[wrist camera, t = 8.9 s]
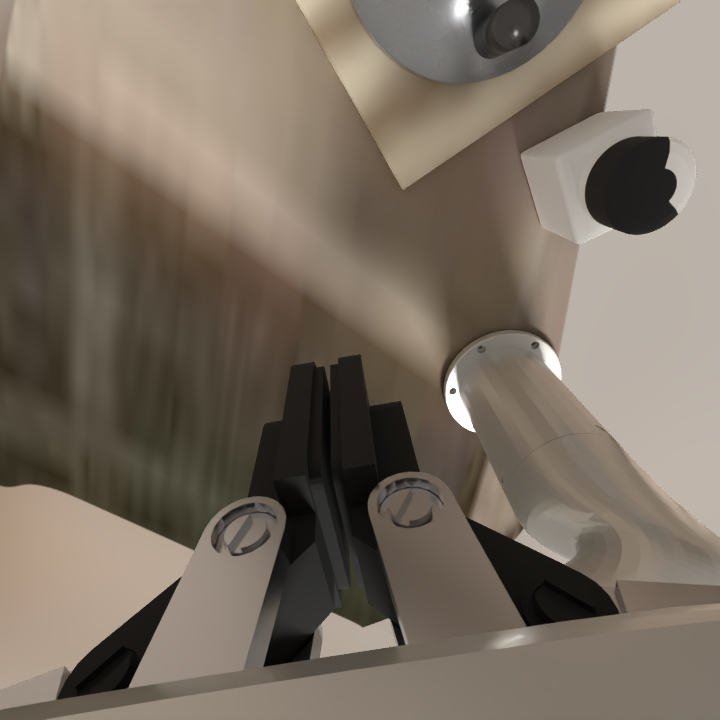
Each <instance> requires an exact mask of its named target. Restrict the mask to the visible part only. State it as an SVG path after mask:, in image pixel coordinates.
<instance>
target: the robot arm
mask: <svg viewBox="0 0 720 720" xmlns="http://www.w3.org/2000/svg"><path fill="white" fill-rule="evenodd" d="M479 346H481V347H479ZM444 398H445V402H446V405H447V407H448V410H449V412H450V413H451V415H452V416H453V418H454V419H455V420H456V421H457V422H458V423H459V424H460V425H461V426H463V427H465V428H466V429H468V430H470V431H473V432H476V434H477V436H478V438H479V440H480V442H481V445H482V447H483V449H484V451H485V453H486V455H487V457H488V459H489V461H490V463H491V465H492V467H493V469H494V472H495V474H496V476H497V478H498V480H499V482H500V484H501V486H502V488H503V490H504V492H505V494H506V496H507V498H508V501H509V503H510V505H511V507H512V509H513V511H514V513H515V515H516V517H517V519H518V521H519V522H520V524H521V525H522V527H523V528H524V529H525V530H526V532H527V533H528V534H529V535H530V536H531V537H533V538H534V539H535V540H536V541H537V542H539V543H540V544H541V545H543V546H544V547H546V548H548V549H549V550H551V551H553V552H555V553H557V554H559V555H561V556H563V557H565V558H567V559H570V561H569V562H567V563H566V564H562V563H560V562H558V561H556V560H554V559H552V558H549V557H547V556H545V555H543V554H541V553H539V552H537V551H535V550H533V549H531V548H529V547H527V546H525V545H523V544H521V543H519V542H516V541H514V540H512V539H510V538H508V537H506V536H504V535H502V534H500V533H498V532H496V531H494V530H492V529H490V528H488V527H485V526H483V525H481V524H479V523H477V522H475V521H473V520H471V519H469V518H467V517H465V516H464V514H463V512H462V511H461V509H460V507H459V505H458V503H457V502H456V500H455V498H454V496H453V495H452V493H451V491H450V489H449V488H448V487H447V486H446V485H445V483H444V482H443V481H441V480H439V479H438V478H436V477H435V476H432V475H429V474H426V473H423V472H420V471H419V467H418V464H417V460H416V456H415V452H414V448H413V445H412V441H411V437H410V433H409V429H408V426H407V422H406V418H405V414H404V410H403V407H402V403H401V401H398V402H392V403H386V404H380V405H373V406H369V401H368V395H367V389H366V383H365V378H364V372H363V366H362V360H361V355H360V354H359V355H353V356H347V357H341V358H338V364H335V365H330V390H329V386H328V381H327V377H326V372H325V368H324V366H323V367H317V368H316V365H315V363H314V362H311V363H305V364H299V365H293V366H291V370H290V376H289V383H288V389H287V395H286V401H285V407H284V414H283V420H282V421H276V422H270V423H266V424H265V425H264V427H263V431H262V436H261V440H260V445H259V449H258V454H257V458H256V463H255V467H254V472H253V476H252V481H251V485H250V490H249V494H248V498H244V499H242V500H239V501H236V502H234V503H232V504H230V505H228V506H227V507H225V508H224V509H222V510H221V511H220V512H219V513H218V514H216V515H215V516H214V517H213V518H212V519H211V521H210V522H209V524H208V525H207V527H206V528H205V530H204V532H203V534H202V536H201V538H200V540H199V542H198V544H197V547H196V549H195V551H194V553H193V555H192V557H191V559H190V561H189V563H188V565H187V568H186V570H185V571H184V573H183V576H182V577H180V578H179V579H178V580H177V581H175V582H174V583H173V584H172V585H171V586H169V587H168V588H167V589H166V590H164V591H163V592H162V593H161V594H160V595H158V596H157V597H156V598H155V599H153V600H152V601H151V602H150V603H149V604H147V605H146V606H145V607H144V608H143V609H141V610H140V611H139V612H138V613H137V614H135V615H134V616H133V617H131V618H130V619H129V620H128V621H127V622H125V623H124V624H123V625H122V626H121V627H120V628H118V629H117V630H116V631H115V632H113V633H112V634H111V635H110V636H108V637H107V638H106V639H105V640H103V641H102V642H101V643H100V644H99V645H97V646H96V647H95V648H94V649H93V650H91V651H90V652H89V653H88V654H87V655H86V656H85V657H84V658H83V659H82V660H81V661H80V662H79V663H78V664H77V666H76V667H75V668H74V670H73V671H71V672H69V671H68V670H67V668H66V667H65V666H63V667H61V668H58V669H56V670H53V671H50V672H48V673H45V674H42V675H40V676H37V677H34V678H32V679H29V680H26V681H24V682H21V683H18V684H16V685H13V686H10V687H8V688H5V689H2V690H0V720H720V537H718V536H717V535H715V534H714V533H713V532H712V531H711V530H709V529H708V528H707V527H706V526H705V525H703V524H702V523H701V522H699V521H698V520H697V519H696V518H695V517H693V516H692V515H691V514H690V513H688V512H687V511H686V510H685V509H684V508H683V507H682V506H680V505H679V504H678V503H677V502H676V501H675V500H673V499H672V498H671V497H670V496H669V495H668V494H667V493H666V492H665V491H664V490H663V489H662V488H661V487H660V486H659V485H658V484H657V483H656V482H655V481H654V480H653V479H652V478H651V477H649V475H648V474H647V473H646V472H645V471H644V470H643V469H642V468H641V467H640V466H639V465H638V464H637V463H636V462H635V461H634V460H633V459H632V458H631V456H630V455H629V454H628V453H627V452H626V451H625V450H624V449H623V448H622V447H621V446H620V444H619V443H618V442H617V441H616V440H615V439H614V438H613V437H612V436H611V435H610V434H609V433H608V431H607V430H606V429H605V428H604V427H603V426H602V425H601V424H600V423H599V422H598V421H597V420H596V418H595V417H594V416H593V415H592V414H591V413H590V412H589V411H588V410H587V409H586V407H585V406H584V405H583V404H582V403H581V402H580V401H579V400H578V399H577V398H576V397H575V396H574V395H573V393H572V392H571V391H570V390H569V389H568V388H567V387H566V386H565V385H564V384H563V382H562V366H561V363H560V360H559V357H558V356H557V354H556V353H555V351H554V350H553V348H552V347H551V346H550V345H549V344H548V343H547V342H545V341H544V340H543V339H541V338H540V337H538V336H536V335H534V334H532V333H529V332H525V331H520V330H503V331H497V332H493V333H490V334H487V335H484V336H482V337H480V338H478V339H476V340H475V341H473V342H471V343H470V344H469V345H467V346H466V347H465V348H464V349H463V350H462V351H461V352H460V353H459V354H458V355H457V356H456V357H455V359H454V360H453V362H452V363H451V365H450V366H449V369H448V371H447V373H446V376H445V381H444ZM349 550H350V554H351V558H352V562H353V566H354V570H355V574H356V579H357V583H358V586H364V587H365V591H366V595H367V600H368V603H369V604H370V605H371V606H373V607H374V608H375V609H377V610H378V611H379V612H381V613H382V614H384V615H385V616H386V617H388V618H389V619H390V622H391V626H392V631H393V634H394V638H395V642H396V645H397V646H396V647H389V648H383V649H376V650H370V651H363V652H357V653H350V654H344V655H338V656H331V657H325V658H320V651H321V645H322V626H321V623H322V622H323V621H324V620H325V619H326V618H327V616H328V615H329V614H330V613H331V612H332V611H333V610H334V608H340V607H342V589H346V588H350V587H351V577H350V555H349Z"/></svg>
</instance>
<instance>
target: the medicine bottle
mask: <svg viewBox="0 0 720 720" xmlns="http://www.w3.org/2000/svg"><path fill="white" fill-rule="evenodd" d="M521 160H522V163H523V167H524V170H525V173H526V177H527V180H528V183H529V187H530V190H531V193H532V197H533V200H534V204H535V207H536V210H537V214H538V217H539V220H540V224H541V226H542V228H544V229H546V230H548V231H551V232H553V233H555V234H557V235H559V236H561V237H563V238H566V239H568V240H570V241H572V242H574V243H576V244H582V243H585V242H587V241H589V240H591V239H593V238H595V237H597V236H599V235H601V234H603V233H605V232H608V231H610V230H612V229H615V230H618V231H621V232H624V233H627V234H633V235H640V234H646V233H650V232H653V231H655V230H657V229H660V228H661V227H663V226H665V225H666V224H667V223H669V222H670V221H671V220H673V219H674V218H675V217H676V216H677V215H678V214H679V212H680V211H681V210H682V209H683V208H684V206H685V205H686V203H687V202H688V200H689V198H690V196H691V194H692V192H693V189H694V185H695V181H696V171H697V170H696V162H695V158H694V156H693V154H692V152H691V150H690V149H689V147H688V146H687V145H686V144H685V143H683V142H682V141H680V140H678V139H675V138H672V137H657V134H656V127H655V121H654V115H653V112H652V111H651V110H649V109H646V110H632V111H631V110H630V111H614V112H599V113H596V114H595V115H593V116H591V117H589V118H587V119H585V120H583V121H581V122H579V123H577V124H575V125H573V126H571V127H570V128H568V129H566V130H564V131H562V132H560V133H558V134H556V135H554V136H552V137H550V138H548V139H547V140H545V141H543V142H541V143H539V144H537V145H535V146H533V147H531V148H529V149H527V150H525V151H524V152H522V153H521Z"/></svg>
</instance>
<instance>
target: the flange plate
mask: <svg viewBox="0 0 720 720" xmlns="http://www.w3.org/2000/svg"><path fill="white" fill-rule="evenodd" d="M350 2H351V5H352V7H353V9H354V12H355V14H356V16H357V18H358V19H359V21H360V23H361V24H362V26H363V28H364V30H365V31H366V33H367V34H368V35H369V37H370V38H371V39H372V41H373V42H374V43H375V45H376V46H377V47H378V48H379V49H380V50H381V51H382V52H383V53H384V54H385V55H386V56H387V57H388V58H389V59H391V60H392V61H393V62H394V63H396V64H397V65H398V66H400V67H401V68H403V69H404V70H406V71H408V72H410V73H411V74H413V75H415V76H418V77H420V78H423V79H426V80H428V81H432V82H437V83H442V84H452V85H463V84H472V83H478V82H482V81H485V80H489V79H493V78H496V77H499V76H501V75H503V74H506V73H508V72H511V71H513V70H515V69H516V68H518V67H520V66H521V65H523V64H525V63H527V62H528V61H530V60H531V59H532V58H533V57H535V56H536V55H537V54H539V53H540V52H541V51H543V50H544V49H545V48H546V47H547V46H548V45H549V44H550V43H551V42H552V41H553V40H554V39H555V38H556V37H557V36H558V35H559V34H560V32H561V31H562V30H563V29H564V27H565V26H566V25H567V24H568V23H569V21H570V20H571V19H572V17H573V16H574V14H575V13H576V11H577V10H578V8H579V7H580V5H581V4H582V2H583V0H350Z"/></svg>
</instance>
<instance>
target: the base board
mask: <svg viewBox="0 0 720 720" xmlns="http://www.w3.org/2000/svg"><path fill="white" fill-rule="evenodd" d="M295 1H296V3H297V5H298V6H299V8H300V10H301V12H302V13H303V15H304V17H305V19H306V20H307V22H308V24H309V26H310V27H311V29H312V31H313V33H314V35H315V36H316V38H317V40H318V42H319V43H320V45H321V47H322V49H323V50H324V52H325V54H326V56H327V58H328V59H329V61H330V63H331V65H332V66H333V68H334V70H335V72H336V73H337V75H338V77H339V79H340V81H341V82H342V84H343V86H344V88H345V89H346V91H347V93H348V95H349V96H350V98H351V100H352V102H353V104H354V105H355V107H356V109H357V111H358V112H359V114H360V116H361V118H362V119H363V121H364V123H365V125H366V126H367V128H368V130H369V132H370V134H371V135H372V137H373V139H374V141H375V142H376V144H377V146H378V148H379V149H380V151H381V153H382V155H383V157H384V158H385V160H386V162H387V164H388V165H389V167H390V169H391V171H392V172H393V174H394V176H395V178H396V180H397V181H398V183H399V185H400V187H401V188H402V189H403V190H404V189H405V188H407V187H408V186H410V185H411V184H413V183H414V182H416V181H417V180H419V179H420V178H422V177H423V176H425V175H426V174H428V173H429V172H430V171H432V170H433V169H435V168H436V167H438V166H439V165H441V164H442V163H444V162H445V161H447V160H448V159H450V158H451V157H453V156H454V155H455V154H457V153H458V152H460V151H461V150H463V149H464V148H466V147H467V146H469V145H470V144H472V143H473V142H475V141H476V140H478V139H479V138H480V137H482V136H483V135H485V134H486V133H488V132H489V131H491V130H492V129H494V128H495V127H497V126H498V125H500V124H501V123H503V122H504V121H506V120H507V119H508V118H510V117H511V116H513V115H514V114H516V113H517V112H519V111H520V110H522V109H523V108H525V107H526V106H528V105H529V104H531V103H532V102H533V101H535V100H536V99H538V98H539V97H541V96H542V95H544V94H545V93H547V92H548V91H550V90H551V89H553V88H554V87H556V86H557V85H558V84H560V83H561V82H563V81H564V80H566V79H567V78H569V77H570V76H572V75H573V74H575V73H576V72H578V71H579V70H581V69H582V68H584V67H585V66H586V65H588V64H589V63H591V62H592V61H594V60H595V59H597V58H598V57H600V56H601V55H603V54H604V53H606V52H607V51H609V50H610V49H611V48H613V47H614V46H616V45H617V44H619V43H620V42H621V41H623V40H624V39H626V38H628V37H629V36H630V35H632V34H634V33H635V32H636V31H638V30H639V29H641V28H642V27H644V26H645V25H647V24H648V23H650V22H651V21H653V20H654V19H656V18H657V17H659V16H660V15H662V14H663V13H664V12H666V11H667V10H669V9H670V8H672V7H673V6H675V5H676V4H677V3H679V2H680V0H583V2H582V4H581V5H580V7H579V8H578V10H577V11H576V13H575V14H574V16H573V17H572V19H571V20H570V21H569V23H568V24H567V25H566V26H565V27H564V29H563V30H562V31H561V32H560V34H559V35H558V36H557V37H556V38H555V39H554V40H553V41H552V42H551V43H550V44H549V45H548V46H547V47H546V48H545V49H544V50H543V51H541V52H540V53H539V54H537V55H536V56H535V57H533V58H532V59H531V60H530V61H528V62H527V63H525V64H523V65H521V66H520V67H518V68H516V69H515V70H513V71H511V72H508V73H506V74H503V75H501V76H499V77H496V78H493V79H489V80H485V81H482V82H478V83H472V84H463V85H452V84H442V83H437V82H432V81H428V80H426V79H423V78H420V77H418V76H415V75H413V74H411V73H410V72H408V71H406V70H404V69H403V68H401V67H400V66H398V65H397V64H396V63H394V62H393V61H392V60H391V59H389V58H388V57H387V56H386V55H385V54H384V53H383V52H382V51H381V50H380V49H379V48H378V47H377V46H376V45H375V43H374V42H373V41H372V39H371V38H370V37H369V35H368V34H367V33H366V31H365V30H364V28H363V26H362V24H361V23H360V21H359V19H358V18H357V16H356V14H355V12H354V9H353V7H352V5H351V2H350V0H295Z"/></svg>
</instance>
